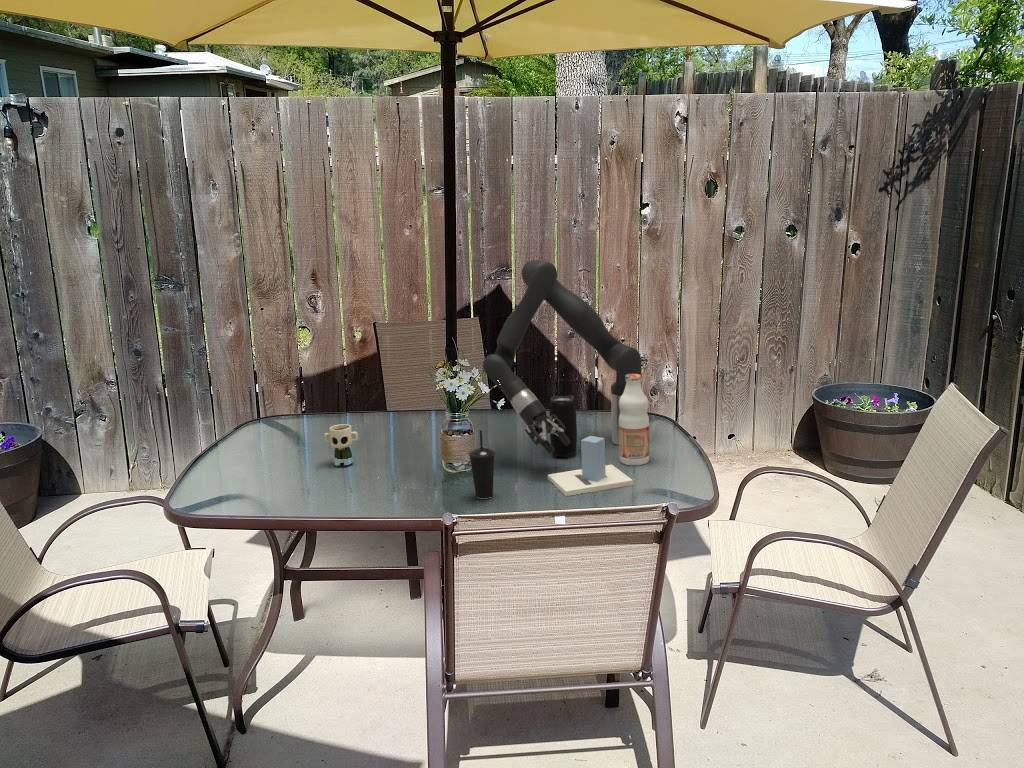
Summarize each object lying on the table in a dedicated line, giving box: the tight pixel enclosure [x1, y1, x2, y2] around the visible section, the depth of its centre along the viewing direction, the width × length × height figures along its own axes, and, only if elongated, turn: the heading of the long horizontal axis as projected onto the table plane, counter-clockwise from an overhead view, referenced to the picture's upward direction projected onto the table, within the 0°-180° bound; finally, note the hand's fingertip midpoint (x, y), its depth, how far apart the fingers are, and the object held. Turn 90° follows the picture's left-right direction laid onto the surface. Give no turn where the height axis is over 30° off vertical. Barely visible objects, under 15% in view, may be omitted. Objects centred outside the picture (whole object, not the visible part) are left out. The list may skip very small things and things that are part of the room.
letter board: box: [547, 464, 634, 497], centre depth 242 cm, size 21×15×2 cm
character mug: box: [323, 423, 359, 459], centre depth 266 cm, size 11×7×13 cm, turn 90°
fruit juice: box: [618, 374, 650, 466], centre depth 254 cm, size 9×9×28 cm
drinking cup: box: [468, 429, 496, 498], centre depth 232 cm, size 8×8×20 cm
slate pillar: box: [580, 435, 606, 482], centre depth 240 cm, size 5×5×12 cm
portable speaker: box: [548, 394, 578, 459], centre depth 264 cm, size 9×9×20 cm
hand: (560, 447), depth 246 cm, fingers open, 8 cm apart
